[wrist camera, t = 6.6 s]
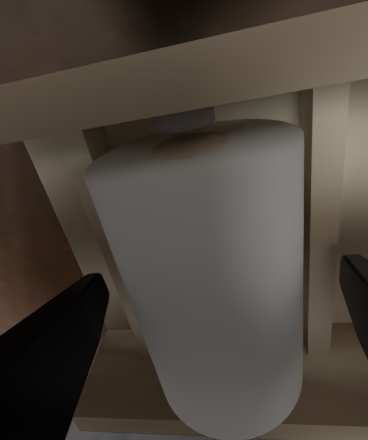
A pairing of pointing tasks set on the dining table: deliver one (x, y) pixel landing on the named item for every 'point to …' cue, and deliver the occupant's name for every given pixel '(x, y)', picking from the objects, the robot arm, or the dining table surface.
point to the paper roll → (213, 266)
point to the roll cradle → (193, 119)
